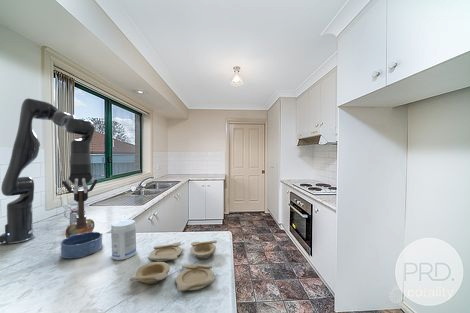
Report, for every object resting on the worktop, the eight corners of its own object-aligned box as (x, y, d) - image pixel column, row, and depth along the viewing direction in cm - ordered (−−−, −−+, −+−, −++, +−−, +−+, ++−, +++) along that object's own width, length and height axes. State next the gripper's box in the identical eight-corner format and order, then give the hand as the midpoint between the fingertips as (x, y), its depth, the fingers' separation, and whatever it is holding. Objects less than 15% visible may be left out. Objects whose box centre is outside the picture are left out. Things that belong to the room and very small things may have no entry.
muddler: (74, 229, 88) (73, 191, 88) (76, 226, 92) (76, 189, 92) (86, 228, 90) (86, 190, 90) (88, 225, 94) (87, 189, 94)
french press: (90, 223, 130) (89, 185, 130) (67, 229, 121) (67, 188, 120) (83, 221, 136) (82, 184, 135) (61, 226, 126) (61, 186, 126)
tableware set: (156, 246, 98) (156, 238, 98) (217, 245, 99) (217, 236, 99) (119, 298, 63) (119, 285, 63) (213, 294, 64) (213, 281, 64)
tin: (69, 242, 102) (68, 226, 102) (64, 242, 103) (63, 225, 103) (95, 231, 117) (94, 217, 117) (90, 231, 118) (90, 216, 118)
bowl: (56, 262, 83) (56, 248, 83) (65, 248, 97) (65, 235, 97) (100, 254, 91) (100, 240, 91) (103, 241, 104) (103, 229, 104)
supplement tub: (136, 248, 96) (136, 217, 96) (136, 257, 87) (135, 224, 87) (112, 252, 92) (112, 220, 92) (110, 262, 83) (109, 227, 83)
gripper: (100, 162, 98) (100, 198, 98) (63, 163, 91) (63, 201, 91) (98, 163, 91) (98, 201, 91) (58, 163, 84) (58, 204, 85)
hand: (81, 201), depth 91 cm, fingers closed on muddler, 2 cm apart
